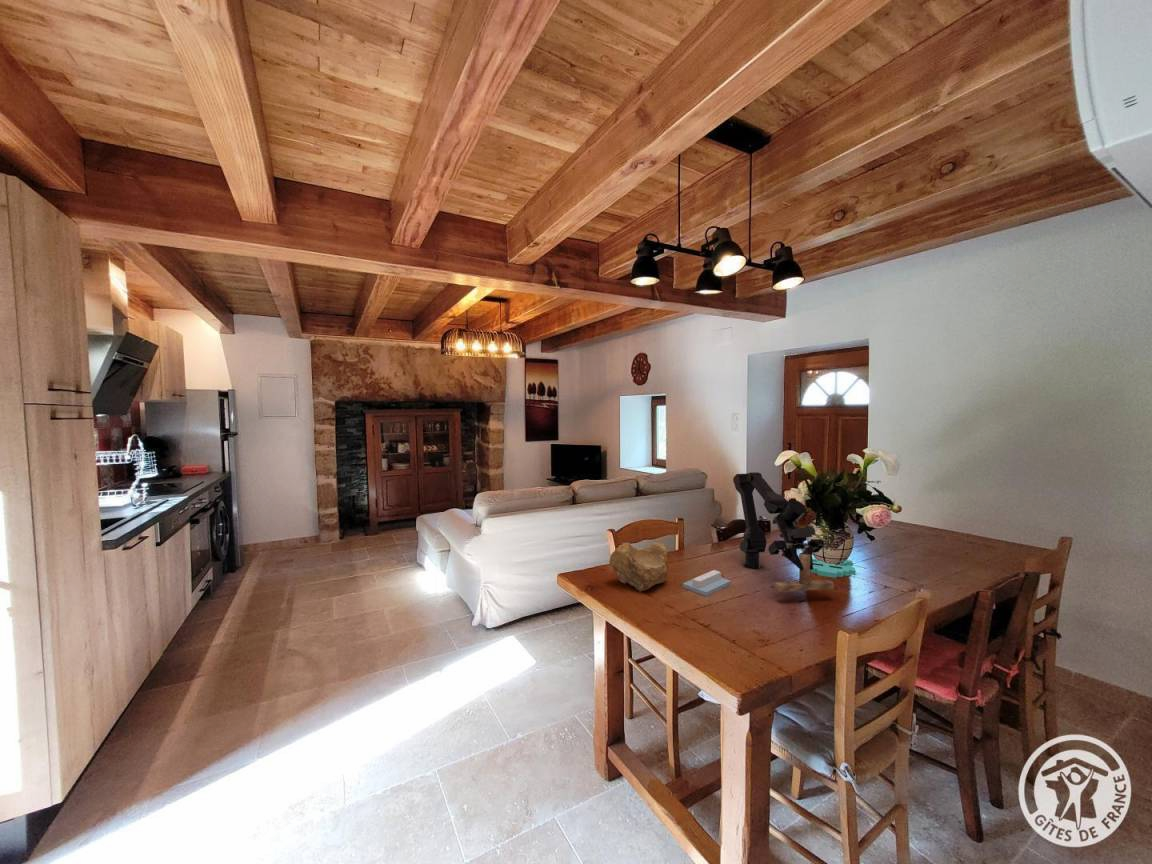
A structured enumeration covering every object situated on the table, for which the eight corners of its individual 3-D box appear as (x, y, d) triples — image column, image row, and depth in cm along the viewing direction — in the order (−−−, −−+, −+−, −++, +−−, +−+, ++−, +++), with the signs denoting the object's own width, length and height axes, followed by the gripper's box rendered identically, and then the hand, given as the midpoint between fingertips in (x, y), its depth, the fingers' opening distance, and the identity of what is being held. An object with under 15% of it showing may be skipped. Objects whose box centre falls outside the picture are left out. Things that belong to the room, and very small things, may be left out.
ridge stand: (707, 576, 168) (707, 566, 168) (730, 584, 160) (730, 574, 160) (682, 587, 158) (682, 576, 158) (706, 596, 150) (706, 585, 150)
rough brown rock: (622, 600, 149) (625, 559, 147) (604, 578, 165) (607, 541, 163) (680, 593, 157) (684, 554, 155) (658, 573, 172) (661, 537, 170)
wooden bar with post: (779, 592, 144) (780, 557, 144) (774, 588, 147) (775, 553, 147) (833, 588, 147) (835, 554, 146) (827, 585, 150) (828, 551, 149)
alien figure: (798, 558, 191) (798, 573, 173) (798, 553, 191) (798, 567, 173) (851, 565, 182) (857, 582, 164) (852, 560, 182) (857, 576, 164)
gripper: (773, 518, 149) (792, 560, 138) (822, 516, 151) (845, 557, 141) (760, 533, 157) (777, 574, 147) (807, 532, 159) (827, 572, 149)
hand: (807, 569), depth 145 cm, fingers closed on wooden bar with post, 3 cm apart
